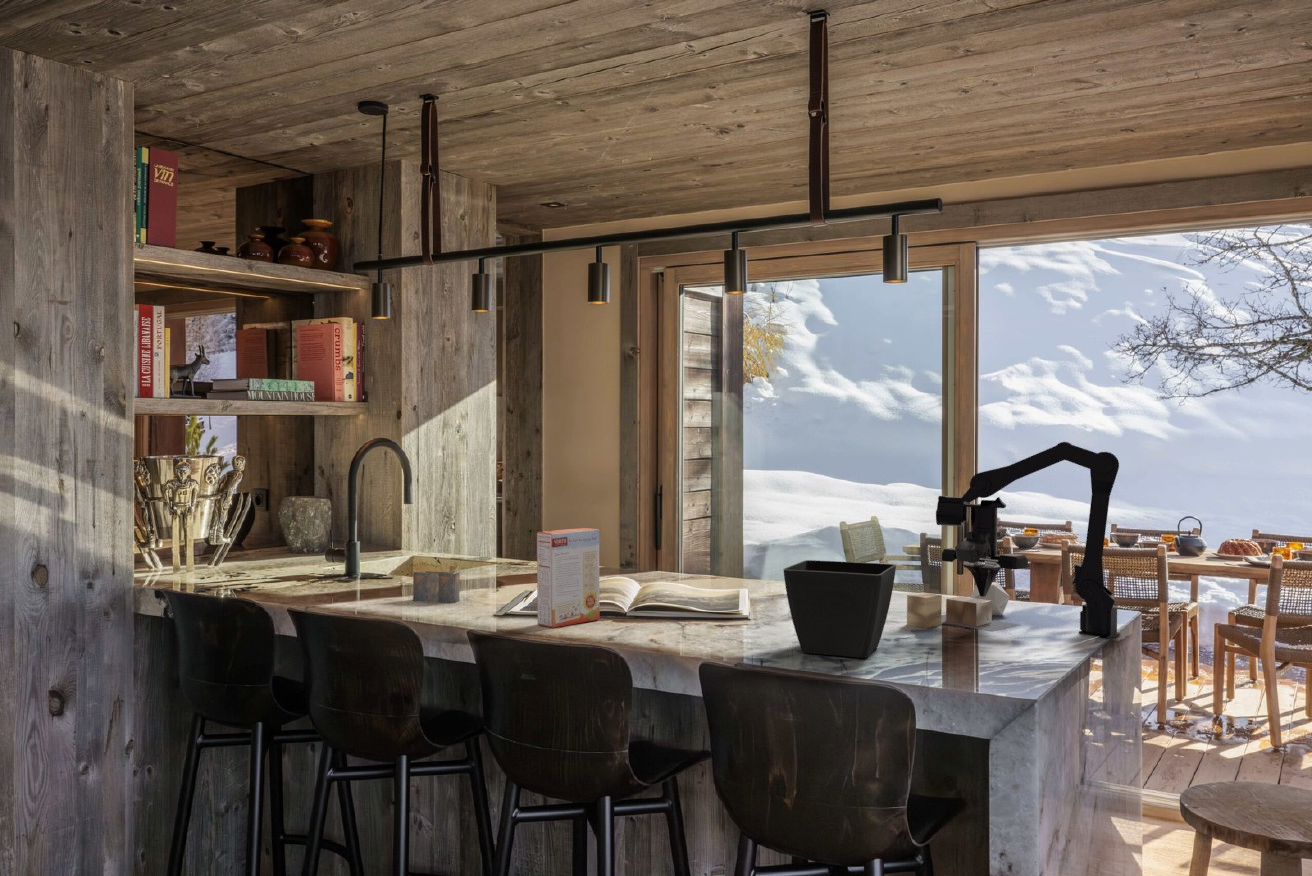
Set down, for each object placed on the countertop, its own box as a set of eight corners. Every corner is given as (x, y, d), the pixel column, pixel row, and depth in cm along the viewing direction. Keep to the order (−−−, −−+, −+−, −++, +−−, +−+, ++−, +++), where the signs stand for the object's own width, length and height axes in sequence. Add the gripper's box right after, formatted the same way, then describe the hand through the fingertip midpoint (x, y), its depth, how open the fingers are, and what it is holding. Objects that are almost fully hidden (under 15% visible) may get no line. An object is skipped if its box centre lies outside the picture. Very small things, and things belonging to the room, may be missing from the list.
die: (1002, 622, 234) (1020, 588, 237) (969, 603, 235) (987, 569, 238) (991, 628, 241) (1008, 595, 244) (959, 609, 243) (976, 576, 246)
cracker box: (583, 617, 233) (584, 526, 233) (600, 620, 229) (601, 528, 228) (535, 624, 223) (535, 530, 223) (552, 628, 219) (552, 532, 219)
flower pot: (805, 637, 212) (806, 557, 212) (896, 645, 205) (897, 563, 204) (781, 655, 194) (781, 568, 194) (879, 665, 187) (880, 574, 187)
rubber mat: (1020, 626, 226) (1020, 624, 226) (992, 632, 218) (992, 631, 218) (950, 614, 240) (950, 613, 240) (921, 620, 232) (921, 619, 232)
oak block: (941, 626, 226) (941, 595, 226) (926, 629, 222) (926, 597, 222) (922, 622, 229) (922, 592, 229) (906, 626, 225) (907, 595, 225)
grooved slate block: (460, 602, 253) (460, 564, 253) (455, 604, 250) (455, 565, 250) (418, 600, 256) (418, 562, 256) (413, 602, 253) (413, 564, 253)
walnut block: (991, 600, 228) (960, 596, 234) (977, 603, 224) (946, 598, 230) (991, 622, 228) (960, 617, 234) (977, 625, 224) (946, 620, 230)
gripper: (927, 526, 228) (926, 594, 228) (1003, 533, 214) (1002, 606, 214) (954, 523, 236) (954, 589, 236) (1029, 529, 222) (1028, 600, 222)
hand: (982, 596), depth 227 cm, fingers closed
